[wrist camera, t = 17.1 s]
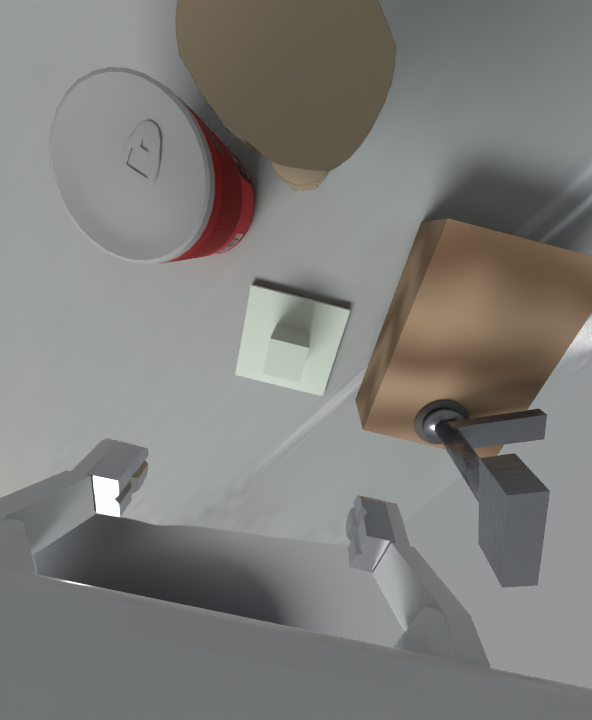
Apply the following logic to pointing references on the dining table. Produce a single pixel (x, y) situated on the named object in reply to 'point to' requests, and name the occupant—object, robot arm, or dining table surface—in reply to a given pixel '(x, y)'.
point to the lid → (290, 339)
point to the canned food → (145, 171)
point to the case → (472, 328)
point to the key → (499, 487)
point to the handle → (291, 76)
